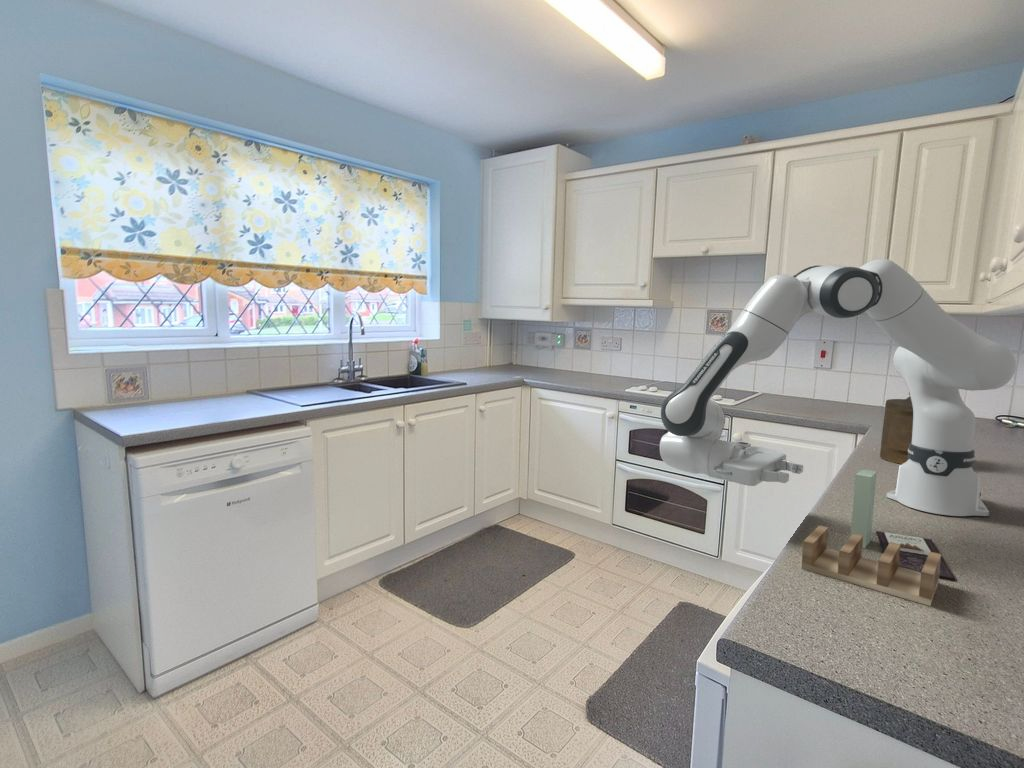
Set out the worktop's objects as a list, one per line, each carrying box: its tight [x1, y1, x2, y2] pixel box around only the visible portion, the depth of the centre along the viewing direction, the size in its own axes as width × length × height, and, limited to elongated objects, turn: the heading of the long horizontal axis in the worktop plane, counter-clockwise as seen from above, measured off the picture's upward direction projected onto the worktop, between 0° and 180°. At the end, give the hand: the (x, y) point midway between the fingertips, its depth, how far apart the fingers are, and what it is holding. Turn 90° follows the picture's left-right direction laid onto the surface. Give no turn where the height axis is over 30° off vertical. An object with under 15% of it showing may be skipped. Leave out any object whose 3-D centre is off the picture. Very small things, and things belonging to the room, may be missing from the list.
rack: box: [801, 525, 942, 607], centre depth 92 cm, size 10×18×5 cm, turn 46°
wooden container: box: [879, 392, 913, 465], centre depth 165 cm, size 15×15×22 cm
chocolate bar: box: [875, 530, 956, 582], centre depth 100 cm, size 9×1×18 cm
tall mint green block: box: [850, 468, 878, 549], centre depth 105 cm, size 5×2×14 cm, turn 136°
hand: (795, 474), depth 112 cm, fingers open, 8 cm apart
